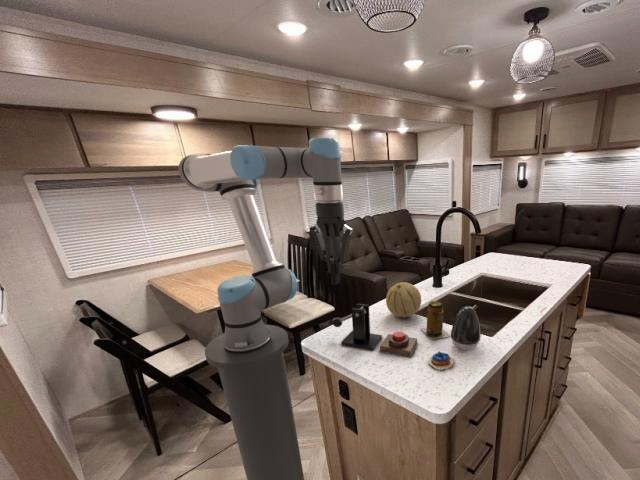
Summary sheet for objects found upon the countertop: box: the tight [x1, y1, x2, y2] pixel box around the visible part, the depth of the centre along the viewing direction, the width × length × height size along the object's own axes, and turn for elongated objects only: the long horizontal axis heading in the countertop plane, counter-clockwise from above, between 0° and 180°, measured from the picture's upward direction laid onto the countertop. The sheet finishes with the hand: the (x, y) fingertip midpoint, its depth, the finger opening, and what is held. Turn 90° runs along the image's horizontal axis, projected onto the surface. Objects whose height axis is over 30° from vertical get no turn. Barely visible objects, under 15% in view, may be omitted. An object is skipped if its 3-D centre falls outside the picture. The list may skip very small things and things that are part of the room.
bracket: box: [340, 303, 383, 351], centre depth 114 cm, size 12×9×14 cm
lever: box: [332, 306, 366, 328], centre depth 114 cm, size 14×4×4 cm, turn 71°
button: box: [392, 330, 406, 341], centre depth 111 cm, size 4×4×2 cm
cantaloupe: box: [385, 281, 422, 318], centre depth 133 cm, size 15×15×15 cm
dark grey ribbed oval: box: [450, 304, 482, 351], centre depth 110 cm, size 10×10×15 cm
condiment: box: [421, 300, 449, 340], centre depth 120 cm, size 7×8×12 cm
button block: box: [379, 333, 418, 357], centre depth 112 cm, size 11×9×4 cm
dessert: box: [428, 350, 454, 371], centre depth 103 cm, size 8×7×6 cm
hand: (335, 283), depth 96 cm, fingers closed
